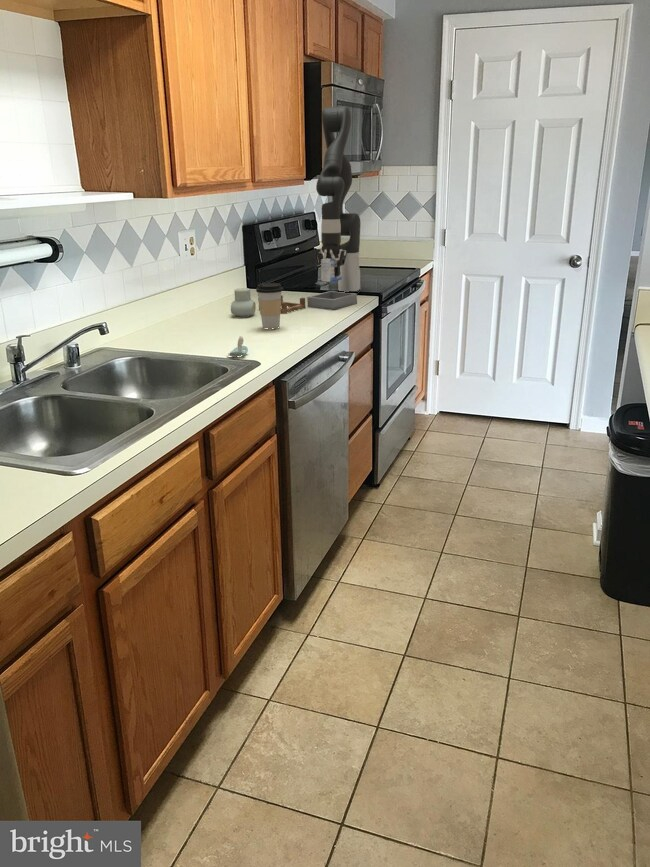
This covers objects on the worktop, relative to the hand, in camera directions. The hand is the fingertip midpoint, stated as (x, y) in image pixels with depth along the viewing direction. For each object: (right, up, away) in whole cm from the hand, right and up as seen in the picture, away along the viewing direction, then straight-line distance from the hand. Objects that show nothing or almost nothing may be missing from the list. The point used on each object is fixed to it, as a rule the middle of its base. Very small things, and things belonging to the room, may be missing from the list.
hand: (331, 275), depth 283 cm
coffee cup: (-21, -26, -32) cm, 46 cm away
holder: (-19, -13, -1) cm, 24 cm away
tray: (0, -11, +4) cm, 12 cm away
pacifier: (-29, -39, -67) cm, 83 cm away
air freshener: (-33, -18, -11) cm, 39 cm away
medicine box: (0, -2, +1) cm, 2 cm away
